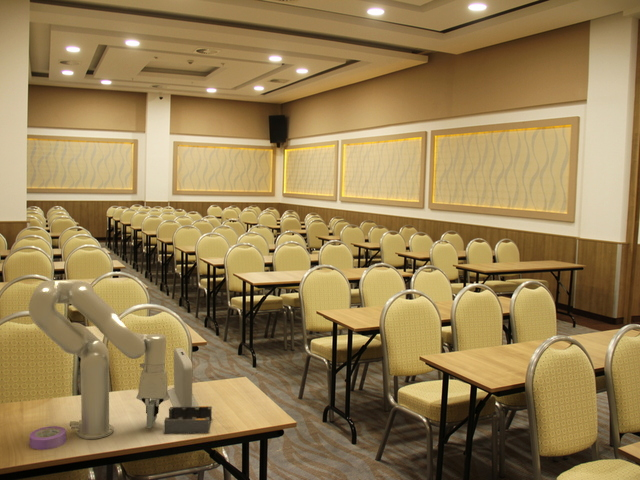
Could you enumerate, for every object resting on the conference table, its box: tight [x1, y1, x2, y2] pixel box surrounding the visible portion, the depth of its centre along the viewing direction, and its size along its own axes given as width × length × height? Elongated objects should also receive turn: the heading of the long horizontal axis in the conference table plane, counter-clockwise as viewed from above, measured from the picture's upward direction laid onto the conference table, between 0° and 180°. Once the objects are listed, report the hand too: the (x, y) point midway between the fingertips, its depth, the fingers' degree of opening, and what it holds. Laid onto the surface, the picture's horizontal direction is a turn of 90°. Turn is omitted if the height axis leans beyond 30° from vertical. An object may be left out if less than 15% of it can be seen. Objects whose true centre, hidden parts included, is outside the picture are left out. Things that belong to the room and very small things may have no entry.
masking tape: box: [28, 425, 67, 451], centre depth 211 cm, size 12×12×4 cm
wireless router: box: [167, 347, 200, 407], centre depth 256 cm, size 31×10×20 cm, turn 22°
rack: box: [163, 405, 213, 435], centre depth 228 cm, size 16×14×5 cm
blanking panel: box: [145, 399, 158, 429], centre depth 226 cm, size 2×11×8 cm, turn 5°
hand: (152, 414), depth 226 cm, fingers closed on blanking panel, 1 cm apart
